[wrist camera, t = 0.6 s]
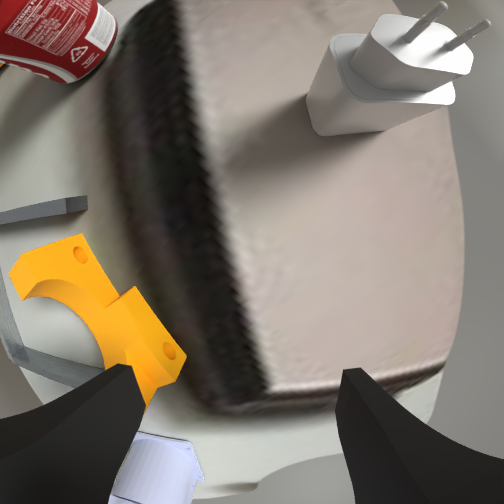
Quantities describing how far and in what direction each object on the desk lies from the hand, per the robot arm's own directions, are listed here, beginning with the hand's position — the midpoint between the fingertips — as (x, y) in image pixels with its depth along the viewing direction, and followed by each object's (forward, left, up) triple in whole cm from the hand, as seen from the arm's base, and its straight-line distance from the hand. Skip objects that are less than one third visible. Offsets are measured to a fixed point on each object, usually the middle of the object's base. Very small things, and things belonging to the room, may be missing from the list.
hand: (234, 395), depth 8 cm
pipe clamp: (-1, +10, -10) cm, 14 cm away
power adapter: (+12, -7, -10) cm, 16 cm away
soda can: (+20, +12, -10) cm, 25 cm away
